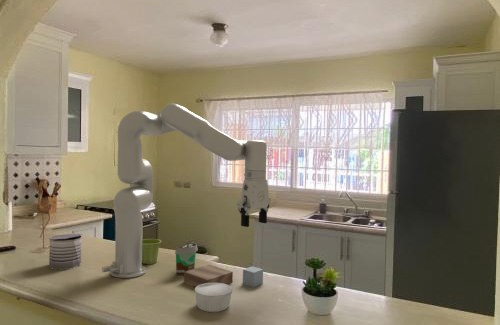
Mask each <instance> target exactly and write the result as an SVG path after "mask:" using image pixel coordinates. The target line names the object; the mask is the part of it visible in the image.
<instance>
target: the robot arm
mask: <svg viewBox="0 0 500 325" xmlns="http://www.w3.org/2000/svg"><path fill="white" fill-rule="evenodd" d="M175 131H176V132H178V133H180V134H181V135H183V136H185V137H186V138H188V139H190V140H191V141H193V142H195V143H196V144H198V145H199V146H201V147H203V148H204V149H205V150H207V151H208V152H211V153H213V154H214V155H217V156H218V157H220V158H221V159H223V160H226V161H230V162H233V161H234V162H235V161H244V173H243V175H244V179H243V181H242V182H243V183H242V189H241V190H242V191H241V198H240V199H239V200H238V201H237V202H236V206H237V208H238V209H237V210H238V212H239V215H240V226H241V227H245V228H249V227H250V214H249V213H250V212H251V210H260V211H258V222H259V223H261V224H267V222H268V212H269V208H270V204H271V201H272V200H271V198H270V196H269V194H270V193H269V184H268V183H269V182H268V179H267V142H266V141H264V140H256V139H249V140H239V139H235V138H233V137H230V136H229V135H228V134H226V133H224V132H222V131H220V130H218V129H217V128H215V127H214V126H213V125H211V124H210V122H209V121H207V120H206V119H204V118H202V117H201V116H199V115H197V114H195V113H194V112H192V111H190V110H188V108H186V107H185V106H182V105H180V104H177V103H174V102H172V103H167V104H166V105H164V106H163V107H162V109H161V110H160V111H159V112H156V113H152V112H150V111H149V112H148V111H145V110H133V111H131V112H129V113H127V114H125V115H124V117H122V119H121V120H120V122H119V123H118V126H117V177H118V179H119V181H120V182H122V184H128V185H129V187H125V188H122V189H121V190H119V191H118V192H117V193H116V194H115V195H114V199H113V210H114V216H115V217H114V218H115V248H114V249H115V251H114V253H115V254H114V257H115V258H114V261H112V262H111V264H110V265H106V266H102V268H101V270H102V273H107V272H109V273H110V274H109V275H110V276H112V277H114V278H117V279H118V278H119V279H127V278H129V279H130V278H137V277H139V276H143V275H145V274H146V272H147V267H145V266H143V264H142V240H143V234H144V232H143V230H144V229H143V227H144V226H143V217H142V211H143V210H146V209H147V208H149V207H150V205H151V204H152V203H153V198H154V172H153V171H154V170H153V166H152V164H151V162H150V161H148V160H147V159H146V158H143V145H142V140H141V136H142V135H144V136H151V137H154V136H155V137H156V136H160V135H164V134H167V133H172V132H175Z"/></svg>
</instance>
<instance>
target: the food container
mask: <svg viewBox="0 0 500 325" xmlns="http://www.w3.org/2000/svg"><path fill="white" fill-rule="evenodd" d="M198 250H199V248H198V245H197V243H195V242H194V241H186V244H183V245H182V246H181V247H175V251H174V252H175V270H176V271H175V272H176V275H184V272H185V271H189V270H192V269H195V266H196V254H197V252H198Z"/></svg>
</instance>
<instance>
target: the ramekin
mask: <svg viewBox="0 0 500 325" xmlns="http://www.w3.org/2000/svg"><path fill="white" fill-rule="evenodd" d="M194 294H195V301H196V306H197V308H199V310H201V311H203V312H207V313H216V312H217V313H218V312H222V311H224V310H226V309H228V307H229V306H230V303H231V298H232V294H233V287H232V286H230V285H229V284H223V283H205V284H201V285H198V286H197V287H195V288H194Z"/></svg>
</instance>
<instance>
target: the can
mask: <svg viewBox="0 0 500 325" xmlns="http://www.w3.org/2000/svg"><path fill="white" fill-rule="evenodd" d="M82 235H83V233H78V232H77V233H65V234H58V235H54V236H50V237H48V239H49V256H48V257H49V260H48V261H49V262H48V264H49V265H48V267H50V268H49V269H51V268H53V269H52V270H54V269H60V270H59V271H61V270H62V271H63V270H64V269H65V270H71V269H70V268H72V269H75V268H77V267H76V266H78V265H80V263H81V264H82ZM80 266H81V265H80ZM74 267H75V268H74ZM78 267H79V266H78Z"/></svg>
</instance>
